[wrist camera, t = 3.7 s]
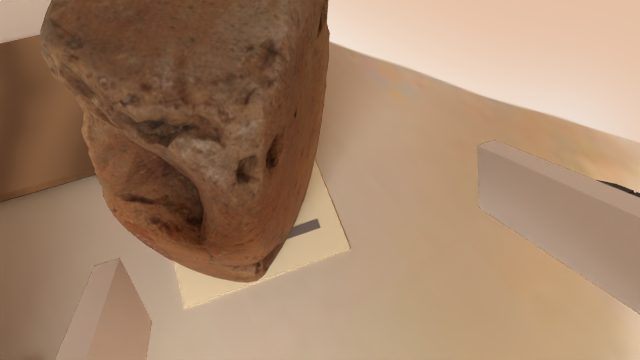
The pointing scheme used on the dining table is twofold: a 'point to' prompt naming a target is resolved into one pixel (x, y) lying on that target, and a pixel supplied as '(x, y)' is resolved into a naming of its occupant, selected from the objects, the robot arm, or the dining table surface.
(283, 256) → the letter
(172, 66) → the brown tall rough part
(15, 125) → the plate
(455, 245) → the dining table surface
